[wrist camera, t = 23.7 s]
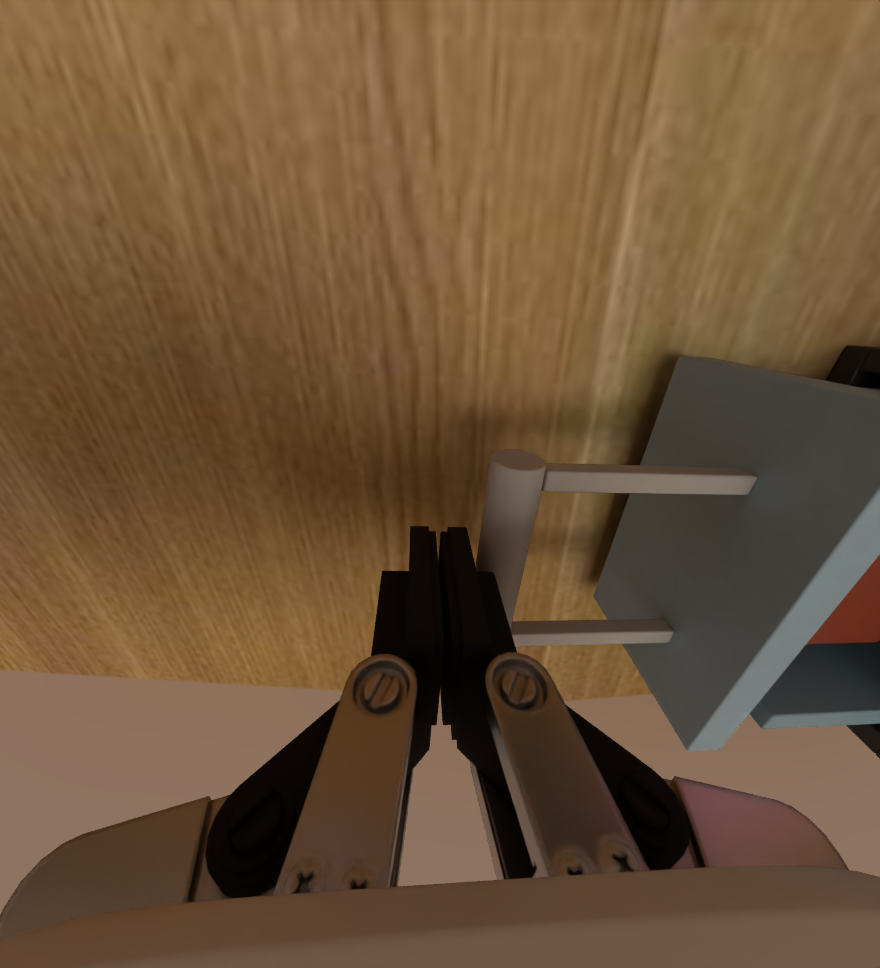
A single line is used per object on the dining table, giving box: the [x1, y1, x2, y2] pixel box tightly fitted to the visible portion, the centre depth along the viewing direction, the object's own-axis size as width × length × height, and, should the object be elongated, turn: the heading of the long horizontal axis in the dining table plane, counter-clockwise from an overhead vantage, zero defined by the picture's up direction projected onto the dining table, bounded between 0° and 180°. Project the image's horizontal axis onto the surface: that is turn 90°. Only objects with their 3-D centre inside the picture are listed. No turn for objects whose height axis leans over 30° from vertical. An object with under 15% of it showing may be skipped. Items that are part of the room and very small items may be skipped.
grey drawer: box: [476, 356, 880, 751], centre depth 12 cm, size 19×11×7 cm, turn 87°
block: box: [807, 554, 880, 644], centre depth 12 cm, size 4×4×4 cm
